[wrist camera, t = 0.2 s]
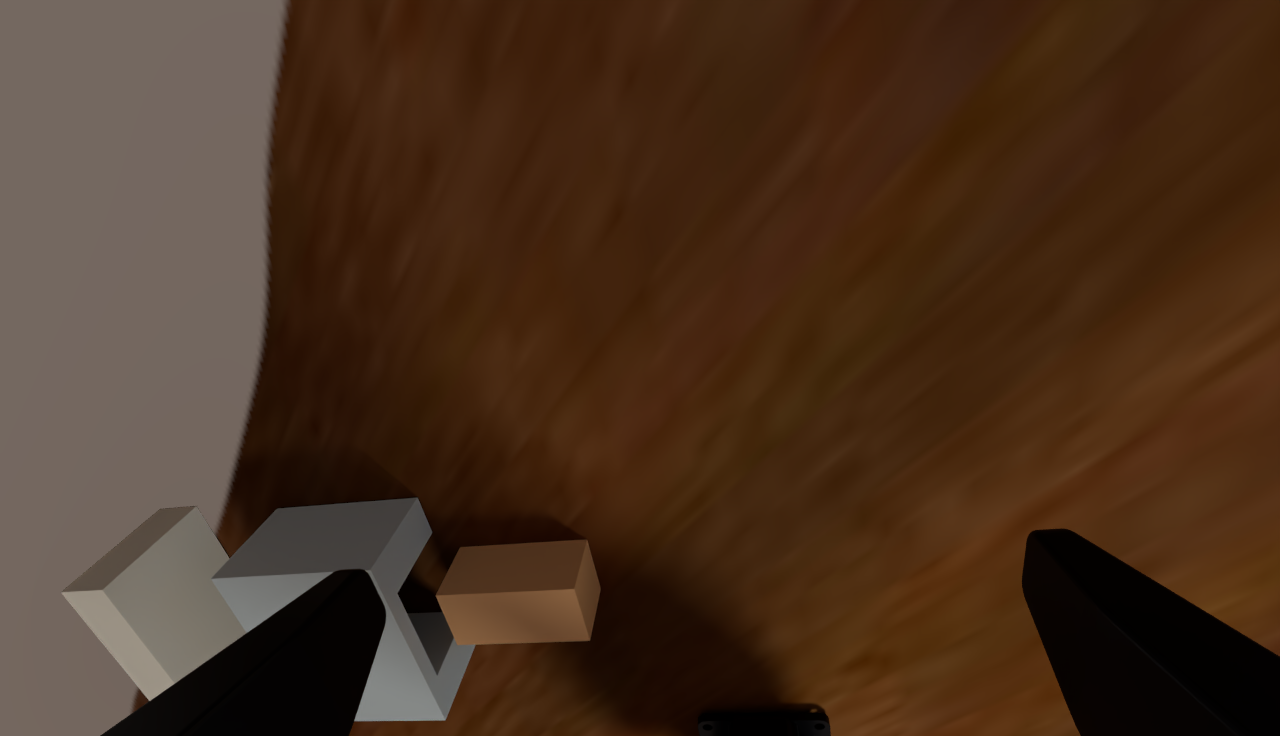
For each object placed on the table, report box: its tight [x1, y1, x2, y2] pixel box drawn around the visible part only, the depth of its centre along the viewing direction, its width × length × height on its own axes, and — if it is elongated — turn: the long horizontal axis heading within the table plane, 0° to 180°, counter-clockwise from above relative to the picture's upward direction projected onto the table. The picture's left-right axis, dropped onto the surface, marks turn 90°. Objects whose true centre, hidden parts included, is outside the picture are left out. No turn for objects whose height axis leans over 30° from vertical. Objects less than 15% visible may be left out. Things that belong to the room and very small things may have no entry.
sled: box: [211, 498, 475, 721], centre depth 28 cm, size 9×7×4 cm
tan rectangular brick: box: [436, 539, 601, 645], centre depth 27 cm, size 3×6×3 cm, turn 100°
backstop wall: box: [61, 506, 246, 701], centre depth 29 cm, size 10×2×5 cm, turn 10°
